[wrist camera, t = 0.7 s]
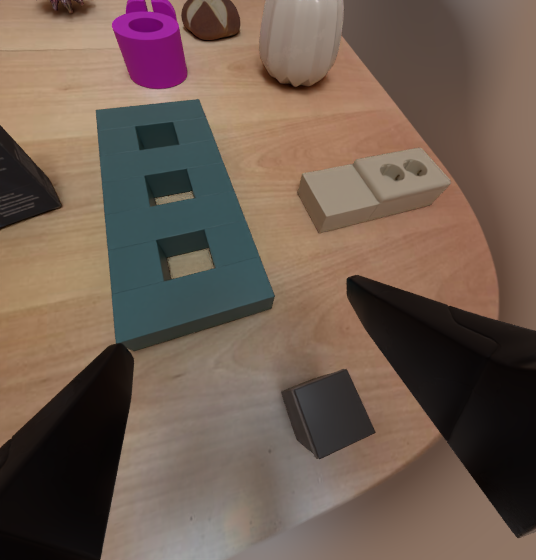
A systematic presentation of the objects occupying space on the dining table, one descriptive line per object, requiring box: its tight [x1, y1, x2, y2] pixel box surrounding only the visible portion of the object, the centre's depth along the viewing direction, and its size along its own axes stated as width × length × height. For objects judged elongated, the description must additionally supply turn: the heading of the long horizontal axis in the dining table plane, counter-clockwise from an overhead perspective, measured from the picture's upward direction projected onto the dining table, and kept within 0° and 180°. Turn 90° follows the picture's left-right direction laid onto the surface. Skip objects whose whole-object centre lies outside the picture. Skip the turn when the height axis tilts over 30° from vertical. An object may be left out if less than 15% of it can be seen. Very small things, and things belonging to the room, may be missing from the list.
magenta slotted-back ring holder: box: [112, 0, 187, 89], centre depth 42 cm, size 16×10×6 cm, turn 11°
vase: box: [259, 0, 344, 87], centre depth 41 cm, size 14×14×13 cm
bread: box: [181, 0, 240, 40], centre depth 50 cm, size 11×11×5 cm
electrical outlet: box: [297, 148, 451, 233], centre depth 32 cm, size 7×4×18 cm
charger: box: [281, 369, 375, 459], centre depth 19 cm, size 4×4×7 cm
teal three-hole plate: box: [96, 99, 275, 351], centre depth 29 cm, size 32×14×4 cm, turn 19°
